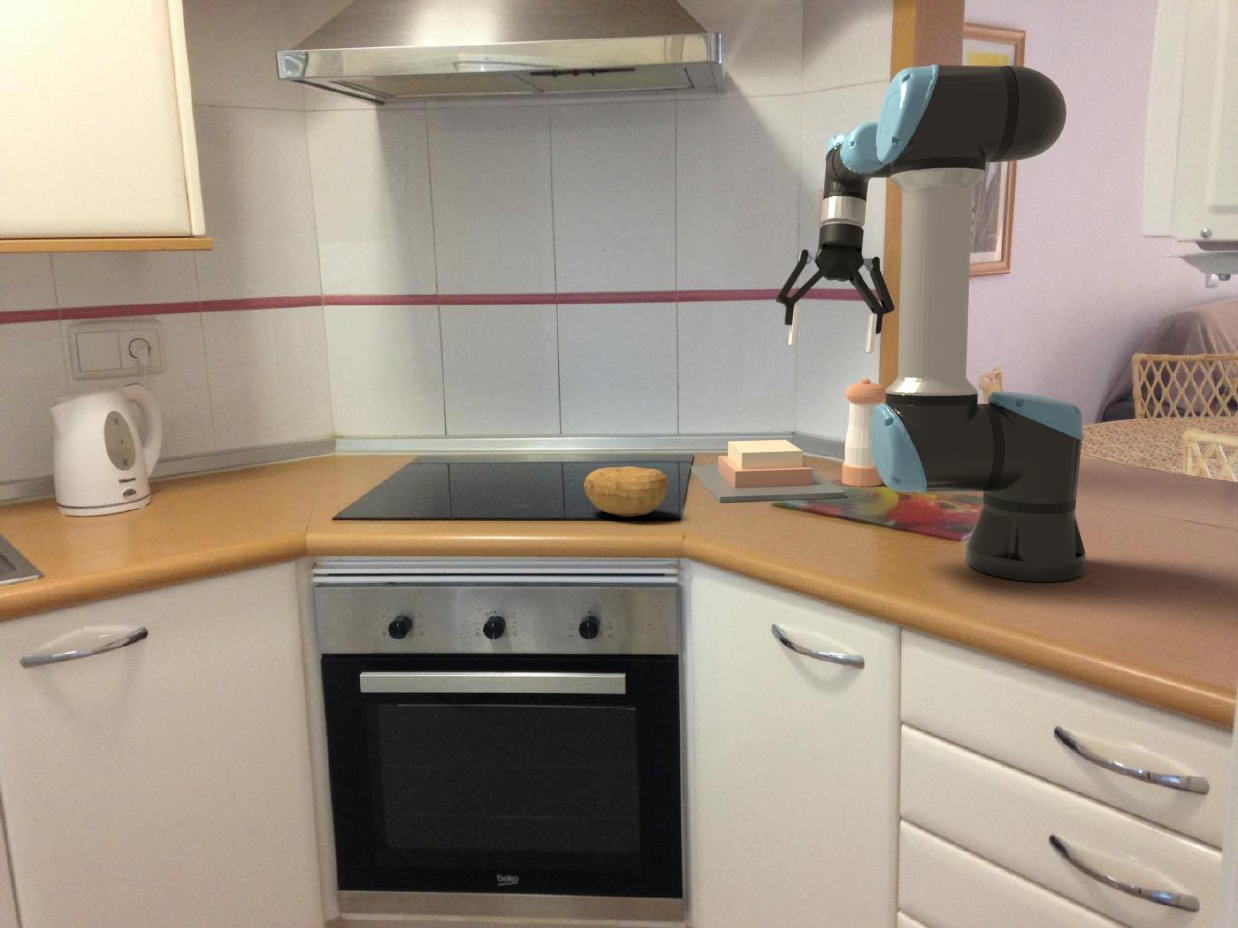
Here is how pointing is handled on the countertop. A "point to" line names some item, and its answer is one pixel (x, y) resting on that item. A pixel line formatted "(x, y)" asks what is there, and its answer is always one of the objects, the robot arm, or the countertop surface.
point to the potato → (626, 490)
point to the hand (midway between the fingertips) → (830, 348)
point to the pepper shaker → (861, 435)
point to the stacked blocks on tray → (764, 474)
